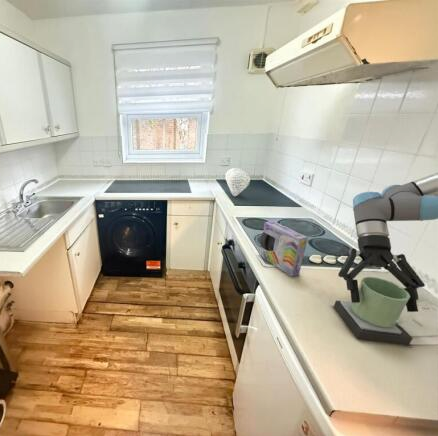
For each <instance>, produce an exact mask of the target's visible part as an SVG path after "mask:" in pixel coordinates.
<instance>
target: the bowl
mask: <svg viewBox="0 0 438 436" xmlns="http://www.w3.org/2000/svg"><path fill="white" fill-rule="evenodd" d="M403 288H404V287H402V286H400V285H399V284H396V283H395V282H392V281H390V280H387V279H384V278H380V277H375V276H374V277H373V276H367V277H363V278H362V279H361V281H360V283H359V284H358V289H359V298H360V302H358V303H352V304H351V308H352V310H353V311H354V312H355V314H356V315H358V316H359V317H360V318H361V319H363V320H365V321H366V322H368V323H371V324H373V325H376V326H381V327H393V326H395V324H396V322H397V323H398V320H399V319H400V316H401V315H402V313H403V312H404V309H405V308H406V304H407V302H408V300H409V298H410V295H409V293H408V292H407V291H406V290H405V289H403Z"/></svg>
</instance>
